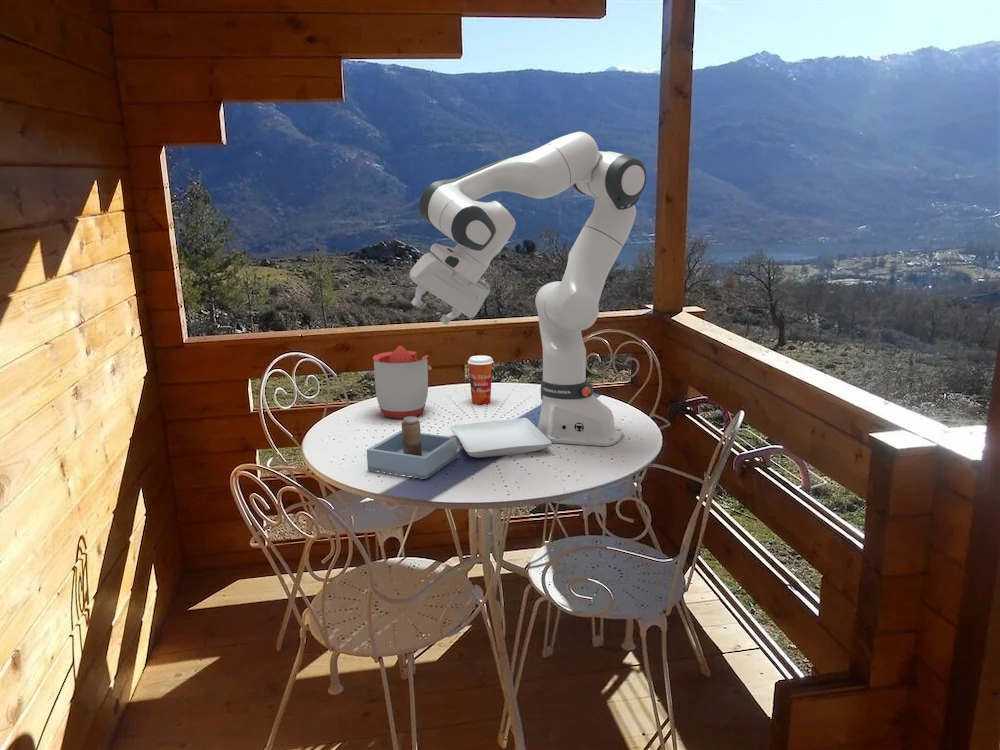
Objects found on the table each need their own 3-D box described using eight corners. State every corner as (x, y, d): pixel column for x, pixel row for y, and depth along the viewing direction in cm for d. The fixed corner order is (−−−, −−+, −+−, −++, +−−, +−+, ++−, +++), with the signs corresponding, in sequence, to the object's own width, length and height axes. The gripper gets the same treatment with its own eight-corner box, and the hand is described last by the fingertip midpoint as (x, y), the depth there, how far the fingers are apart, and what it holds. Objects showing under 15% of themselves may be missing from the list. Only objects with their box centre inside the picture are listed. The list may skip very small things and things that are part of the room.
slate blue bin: (456, 457, 161) (456, 437, 160) (426, 480, 148) (425, 458, 147) (402, 449, 167) (401, 430, 166) (367, 470, 154) (366, 449, 152)
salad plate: (467, 465, 158) (467, 451, 157) (449, 436, 178) (448, 424, 177) (553, 455, 163) (553, 442, 162) (526, 429, 183) (526, 416, 182)
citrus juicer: (445, 413, 197) (443, 345, 192) (393, 425, 186) (390, 353, 182) (416, 401, 209) (413, 337, 204) (365, 412, 198) (361, 345, 193)
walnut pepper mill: (425, 457, 158) (422, 416, 156) (416, 463, 155) (414, 421, 152) (409, 455, 160) (406, 414, 157) (400, 461, 156) (397, 420, 154)
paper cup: (467, 406, 204) (466, 360, 201) (469, 399, 211) (468, 355, 208) (493, 406, 204) (493, 360, 200) (494, 399, 211) (494, 355, 208)
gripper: (487, 281, 166) (453, 326, 168) (428, 239, 152) (392, 289, 154) (499, 292, 162) (464, 338, 164) (439, 250, 148) (402, 301, 150)
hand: (429, 314), depth 159 cm, fingers open, 8 cm apart
